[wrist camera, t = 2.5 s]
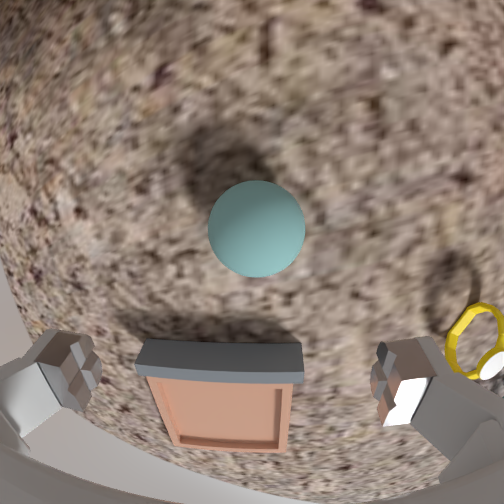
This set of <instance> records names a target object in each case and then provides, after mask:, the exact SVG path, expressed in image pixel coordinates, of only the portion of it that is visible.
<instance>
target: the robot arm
mask: <svg viewBox="0 0 504 504" xmlns="http://www.w3.org/2000/svg"><path fill="white" fill-rule="evenodd" d="M94 346H95V345H94V343H93V341H92V338H91V337H90V336H88V335H87V334H81V333H75V332H69V331H64V330H57V329H52V328H51V329H47V330H46V331H45V332H44V333H43V334H42V335H41V336H40V337H39V339H38V340H37V341H36V342H35V343H34V344H33V346H32V347H31V348H30V349H29V350H28V351H27V353H26V354H25V355H24V356H23V357H22V358H17V359H15V360H13V361H10V362H8V363H6V364H4V365H2V366H0V504H181V503H175V502H170V501H165V500H158V499H154V498H149V497H145V496H140V495H136V494H132V493H128V492H124V491H120V490H117V489H113V488H110V487H106V486H103V485H100V484H96V483H94V482H90V481H87V480H85V479H82V478H79V477H76V476H73V475H71V474H68V473H65V472H63V471H60V470H57V469H55V468H53V467H51V466H48V465H46V464H43V463H41V462H39V461H36V460H35V459H33V458H30V457H28V455H29V453H30V448H29V446H28V445H27V444H26V443H25V442H24V440H23V439H22V438H23V437H24V436H25V435H27V434H28V433H29V432H30V431H32V430H33V429H35V428H36V427H37V426H39V425H40V424H41V423H43V422H44V421H45V420H47V419H48V418H49V417H50V416H52V415H53V414H54V413H56V412H57V411H58V410H60V409H61V408H62V407H66V408H70V409H74V410H78V411H82V412H84V410H85V408H86V406H87V405H88V403H89V401H90V399H91V397H92V395H91V391H90V390H92V389H94V388H95V387H97V386H98V384H99V382H100V380H101V376H102V364H101V361H100V358H99V357H98V356H97V355H96V354H95V353H94V352H93V348H94ZM376 354H377V356H378V359H379V360H378V361H377V362H376V363H375V364H374V365H373V367H372V371H371V378H370V384H371V391H372V394H373V397H374V398H376V399H377V400H378V401H380V402H379V404H378V407H377V411H378V414H379V417H380V420H381V424H382V427H384V426H391V425H398V424H405V423H410V424H411V425H412V426H413V427H414V428H415V429H416V430H417V431H418V432H419V433H420V434H421V435H423V436H424V437H425V438H426V439H427V440H428V441H429V442H430V443H431V444H432V445H433V446H435V447H436V448H437V449H438V450H439V451H440V452H441V453H442V454H443V455H444V456H445V457H447V458H448V459H449V460H450V461H451V462H450V463H449V464H448V465H447V466H446V467H445V469H444V470H443V471H442V472H441V473H440V475H439V476H438V478H439V481H440V484H437V485H434V486H431V487H428V488H424V489H421V490H417V491H413V492H410V493H406V494H402V495H397V496H393V497H388V498H384V499H379V500H374V501H368V502H362V503H356V504H504V398H502V397H500V396H499V395H497V394H495V393H493V392H492V391H490V390H488V389H486V388H485V387H483V386H481V385H480V384H478V383H476V382H474V381H473V380H471V379H469V378H468V377H466V376H464V375H462V374H461V373H459V372H457V373H454V372H453V370H452V369H451V367H450V365H449V364H448V362H447V360H446V359H445V357H444V355H443V354H442V352H441V351H440V349H439V347H438V346H437V344H436V343H435V341H434V340H433V338H432V337H430V336H424V337H417V338H413V339H403V340H393V341H383V342H380V344H379V346H378V349H377V352H376ZM61 406H62V407H61Z"/></svg>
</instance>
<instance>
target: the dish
mask: <svg viewBox="0 0 504 504" xmlns="http://www.w3.org/2000/svg"><path fill="white" fill-rule="evenodd" d="M146 378H147V381H148V383H149V386H150V389H151V391H152V394H153V396H154V399H155V402H156V404H157V407H158V409H159V412H160V414H161V416H162V419H163V421H164V424H165V426H166V428H167V431H168V433H169V435H170V437H171V440H172V442H173V444H174V446H179V447H187V448H196V449H206V450H218V451H233V452H262V453H282V452H286V447H287V438H288V429H289V420H290V410H291V400H292V390H293V383H292V384H249V383H220V382H203V381H189V380H177V379H167V378H158V377H149V376H146Z"/></svg>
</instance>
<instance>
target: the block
mask: <svg viewBox="0 0 504 504" xmlns="http://www.w3.org/2000/svg"><path fill="white" fill-rule="evenodd" d="M134 365H135V367H136V370H137V373H138V375H141V376H149V377H158V378H167V379H177V380H189V381H203V382H220V383H249V384H292V383H303V379H304V363H303V354H302V345H301V343H276V344H261V343H214V342H192V341H175V340H160V339H148V338H147V339H146V341H145V343H144V345H143V347H142V349H141V351H140V353H139V355H138V357H137V359H136V361H135V364H134Z"/></svg>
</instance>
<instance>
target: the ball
mask: <svg viewBox="0 0 504 504" xmlns="http://www.w3.org/2000/svg"><path fill="white" fill-rule="evenodd" d="M208 236H209V241H210V244H211V247H212V249H213V251H214V253H215V255H216V256H217V258H218V259H219V260H220V261H221V262H222V263H223V264H224V265H225V266H226V267H227V268H229V269H230V270H232V271H234V272H235V273H238V274H240V275H243V276H248V277H265V276H270V275H273V274H275V273H278V272H280V271H281V270H283V269H285V268H286V267H287V266H288V265H290V264H291V263H292V262H293V260H294V259H295V258H296V256H297V255H298V253H299V252H300V250H301V247H302V245H303V241H304V237H305V221H304V216H303V213H302V210H301V208H300V206H299V204H298V203H297V201H296V200H295V198H294V197H293V196H292V195H291V194H290V193H289V192H288V191H286V190H285V189H284V188H282V187H280V186H278V185H276V184H274V183H271V182H267V181H261V180H253V181H246V182H242V183H239V184H237V185H235V186H233V187H231V188H229V189H228V190H227V191H225V192H224V193H223V194H222V195H221V196H220V197H219V199H218V200H217V201H216V203H215V204H214V206H213V208H212V211H211V213H210V217H209V222H208Z"/></svg>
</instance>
